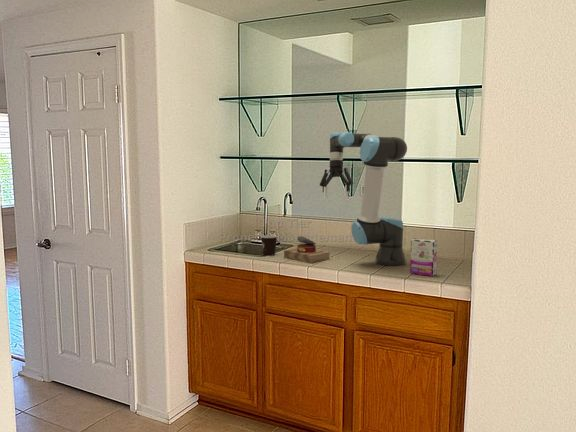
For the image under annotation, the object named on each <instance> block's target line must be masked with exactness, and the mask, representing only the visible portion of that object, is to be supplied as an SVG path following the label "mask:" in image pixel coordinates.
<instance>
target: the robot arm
mask: <svg viewBox="0 0 576 432" xmlns="http://www.w3.org/2000/svg"><path fill="white" fill-rule="evenodd" d="M344 148H360V149H359V155H360V157H359V158H360V160H361V161H362V163H363V166H365V174H364V181H363V182H364V183H363V190H362V199H361V201H362V202H361V208H360V209H361V211H360V214H359V215H357V218H356V221H353V222H352V224H351V235H352V239H353V240H354V242H355V243H356V244H357V245H374V244H379V247H378V250H377V253H376V256H375V263H377V264H379V265H382V266H383V265H384V266H402V265H405V264H406V260H407V259H406V256H405V252H404V249H403V246H404V245H403V244H404V243H403V241H404V239H403V237H404V222H403V220H402V219H398V218H393V217H384V216H381V217H379V213H380V212H379V210H380V203H381V195H382V187H383V178H384V172H385V171H384V170H385V169H387V167H389V166H388V164H389V162H397V161H400V160H401V159H403V158H404V157H405V156H406V155H407V151H408V145H407V143H406V141H405V140H404V139H403V138H400V137H397V136H379V135H375V134H374V133H354V132H353V133H352V132H349V131H345V132H339V131H338V132H331V133H330V136H329V169H324V172H323V176H322V177H321V180H320V182H319V187H322V193H323V199H325V200H326V199H328V185H329V183H330V182H331V180H332V179H333V178H340V179H341V180H342V181H343V184H345V185H344V198H347V199H348V198H349V192H350V190H351V186H352V185H353V184H354V182H353V180H352V177H351V176H350V173H349V169H348V168H346V167H344V161H343V160H344ZM343 167H344V168H343Z"/></svg>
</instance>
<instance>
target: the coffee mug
mask: <svg viewBox="0 0 576 432" xmlns="http://www.w3.org/2000/svg"><path fill="white" fill-rule="evenodd" d="M260 238H261V245H262V254H263V256H265V257H266V256H271V257H272V256H275V254H276V247H277V240H278V236H277V235H271V234H270V235H261V237H260Z"/></svg>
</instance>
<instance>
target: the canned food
mask: <svg viewBox="0 0 576 432" xmlns="http://www.w3.org/2000/svg"><path fill="white" fill-rule="evenodd" d="M297 241H298V242H299V243H300V244H297V247H296V248H297V251H298V252H301V253H313V252H316V250H317V248H316V247H317V246H316V242H314V241H313V240H311V239H309V238H307V237H305V236H301V235H300V236H298V237H297Z"/></svg>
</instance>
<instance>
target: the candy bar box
mask: <svg viewBox="0 0 576 432" xmlns="http://www.w3.org/2000/svg"><path fill="white" fill-rule="evenodd" d="M437 249H438V240H437V239H426V238H424V239H423V238H412V239H410V262H409V266H410V267H409V273H410V274H411V273H412V275H418V274H419V275H420V276H426V277H434V276H436V275H437V257H438V256H437V255H438V253H437V252H438V250H437ZM419 275H418V276H419Z"/></svg>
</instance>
